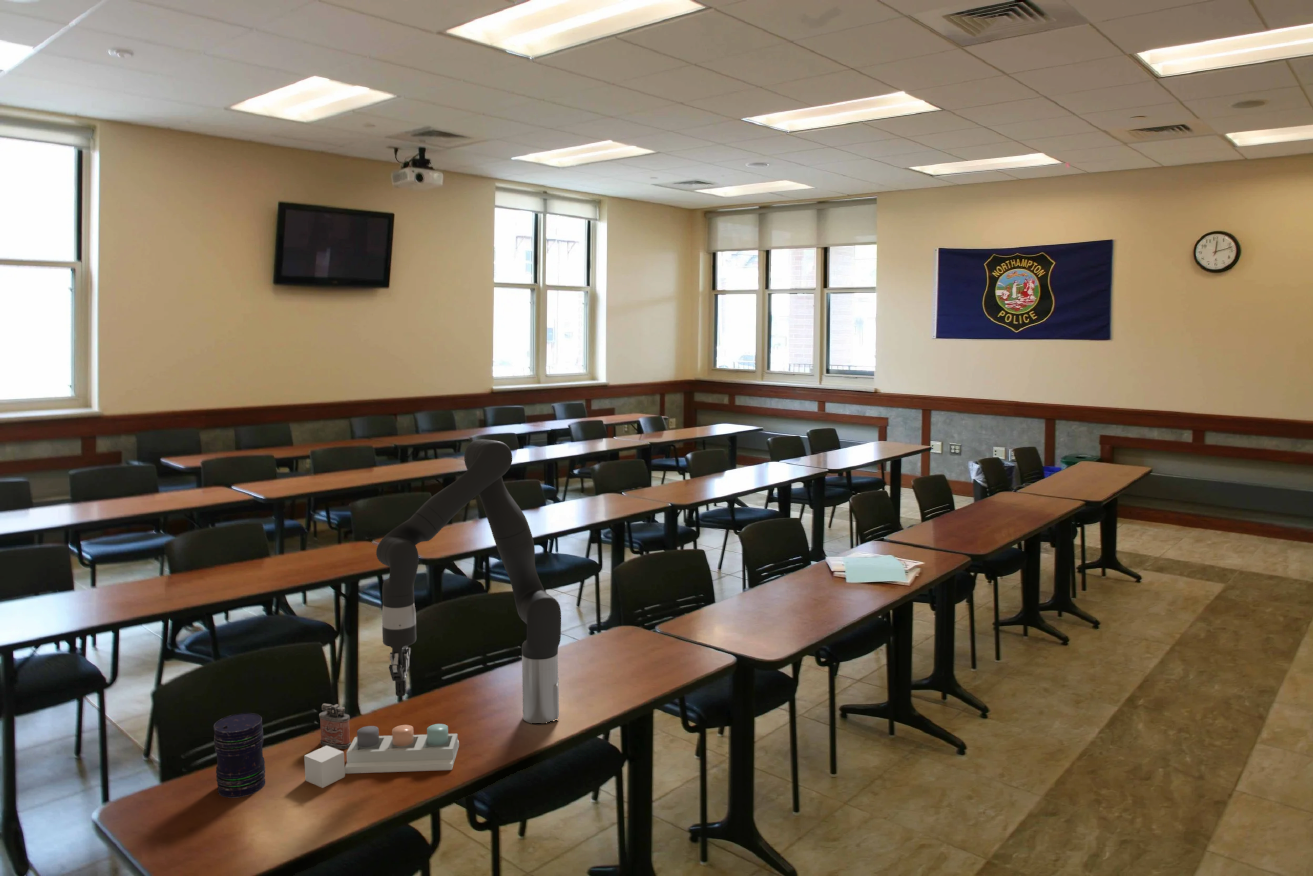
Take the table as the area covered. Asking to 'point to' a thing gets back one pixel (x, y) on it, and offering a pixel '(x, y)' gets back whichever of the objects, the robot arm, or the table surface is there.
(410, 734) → the terracotta button
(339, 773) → the white cube
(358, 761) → the button board
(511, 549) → the robot arm
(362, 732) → the charcoal button
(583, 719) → the table surface
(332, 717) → the lighter
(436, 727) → the teal button
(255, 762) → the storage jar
